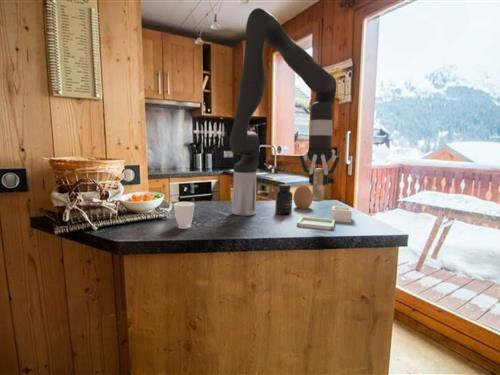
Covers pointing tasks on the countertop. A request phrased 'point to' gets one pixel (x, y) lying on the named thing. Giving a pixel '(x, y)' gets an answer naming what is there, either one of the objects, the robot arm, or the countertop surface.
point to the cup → (184, 214)
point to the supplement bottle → (283, 200)
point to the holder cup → (341, 214)
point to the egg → (303, 197)
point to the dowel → (318, 184)
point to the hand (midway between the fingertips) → (318, 185)
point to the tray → (316, 223)
